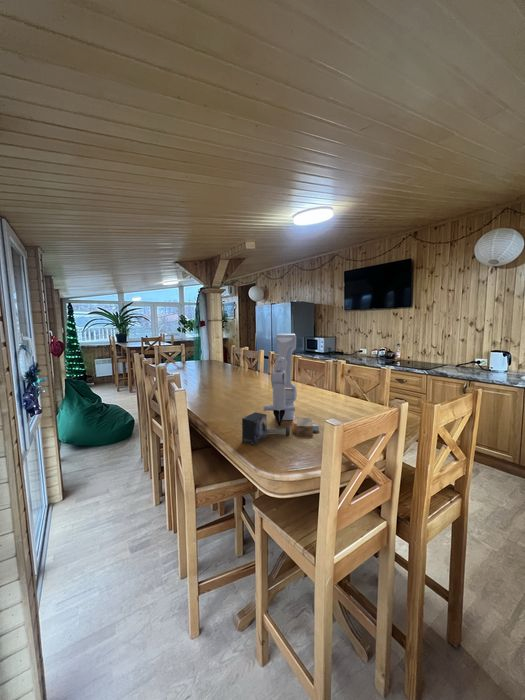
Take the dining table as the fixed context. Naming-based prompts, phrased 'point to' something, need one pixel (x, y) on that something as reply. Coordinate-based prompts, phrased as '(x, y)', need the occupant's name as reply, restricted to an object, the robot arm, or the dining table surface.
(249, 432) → the small box
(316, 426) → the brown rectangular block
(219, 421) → the dining table surface
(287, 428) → the keeper post
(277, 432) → the bar
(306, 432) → the block
